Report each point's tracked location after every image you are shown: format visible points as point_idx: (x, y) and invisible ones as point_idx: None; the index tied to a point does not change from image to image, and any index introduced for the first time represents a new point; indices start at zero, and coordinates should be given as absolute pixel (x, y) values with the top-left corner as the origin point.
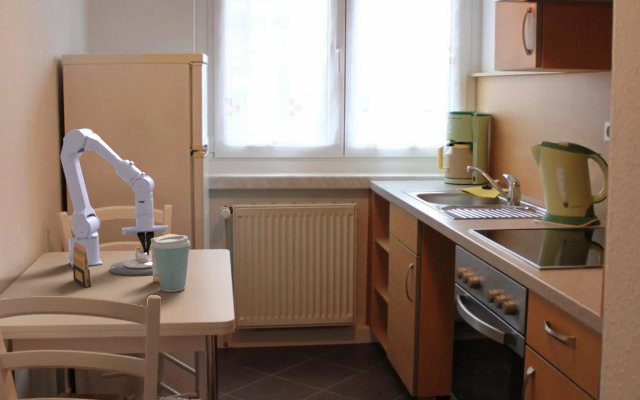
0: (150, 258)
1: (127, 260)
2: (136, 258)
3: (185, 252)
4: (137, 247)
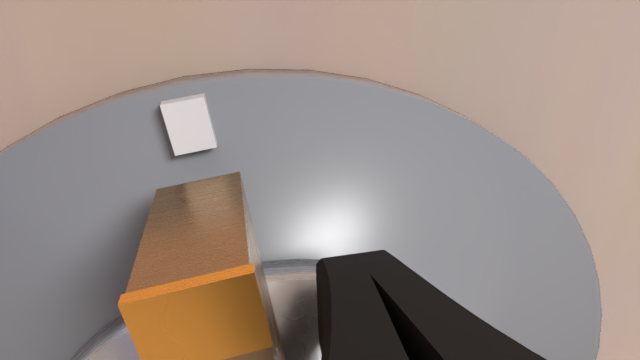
0: None
1: (13, 164)
2: (169, 121)
3: None
4: (189, 301)
